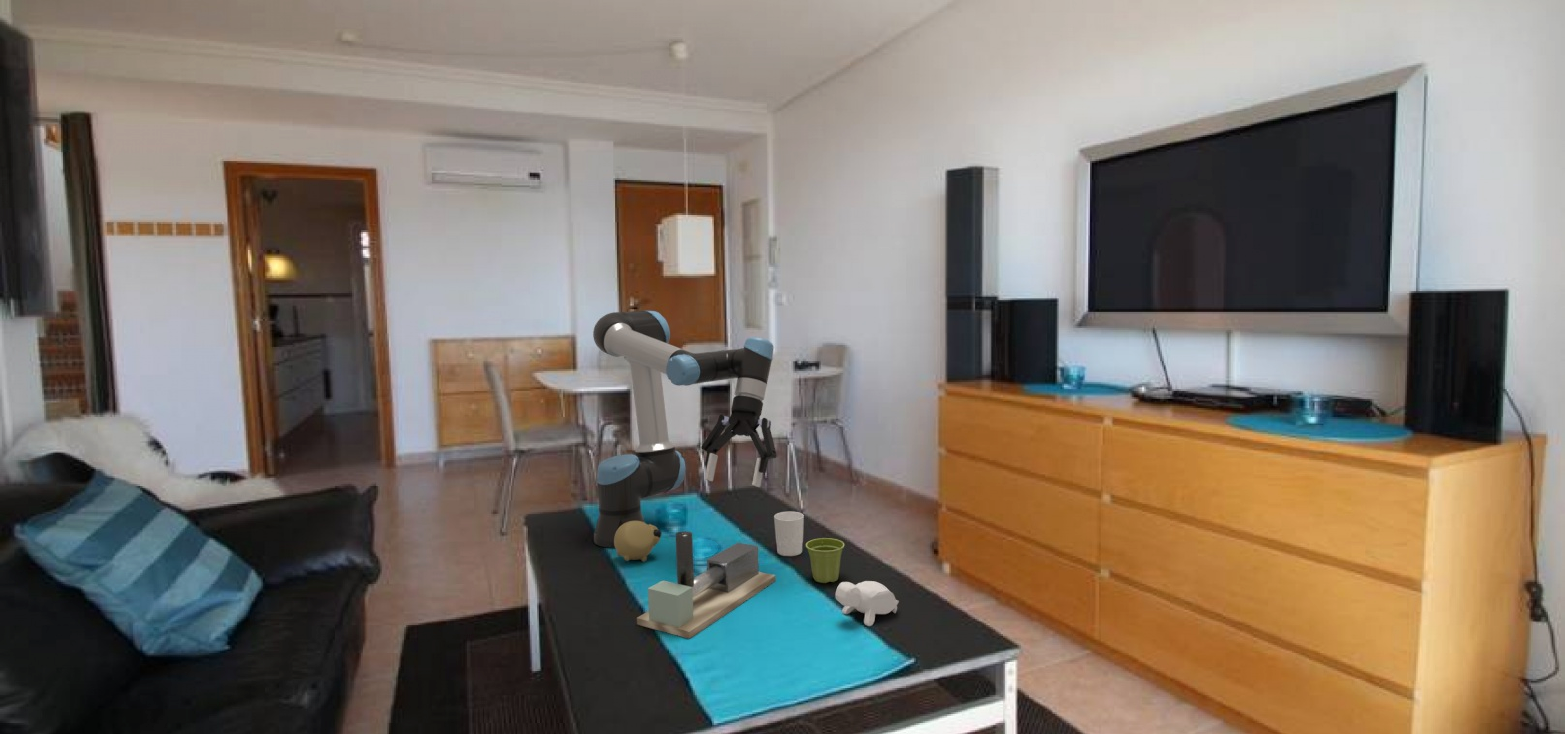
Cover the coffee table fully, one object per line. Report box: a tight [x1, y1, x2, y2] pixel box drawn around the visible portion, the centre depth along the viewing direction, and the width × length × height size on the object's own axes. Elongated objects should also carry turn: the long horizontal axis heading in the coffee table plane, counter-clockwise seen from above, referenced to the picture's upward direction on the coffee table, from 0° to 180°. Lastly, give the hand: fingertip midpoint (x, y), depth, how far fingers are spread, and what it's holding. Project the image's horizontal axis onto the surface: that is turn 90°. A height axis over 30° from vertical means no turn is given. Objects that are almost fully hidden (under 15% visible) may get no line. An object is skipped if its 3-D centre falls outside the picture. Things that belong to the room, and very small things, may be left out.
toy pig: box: [614, 521, 662, 563], centre depth 201 cm, size 10×12×11 cm
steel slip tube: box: [675, 530, 726, 597], centre depth 169 cm, size 4×21×15 cm, turn 149°
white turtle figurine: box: [834, 580, 900, 627], centre depth 164 cm, size 8×8×15 cm
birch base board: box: [636, 571, 776, 640], centre depth 174 cm, size 14×34×2 cm, turn 149°
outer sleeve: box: [706, 542, 760, 593], centre depth 182 cm, size 6×13×7 cm, turn 149°
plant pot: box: [805, 537, 845, 584], centre depth 185 cm, size 9×9×9 cm
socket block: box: [647, 580, 694, 628], centre depth 161 cm, size 8×5×7 cm, turn 59°
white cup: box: [773, 511, 805, 557], centre depth 204 cm, size 8×8×10 cm
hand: (731, 483), depth 184 cm, fingers open, 13 cm apart
